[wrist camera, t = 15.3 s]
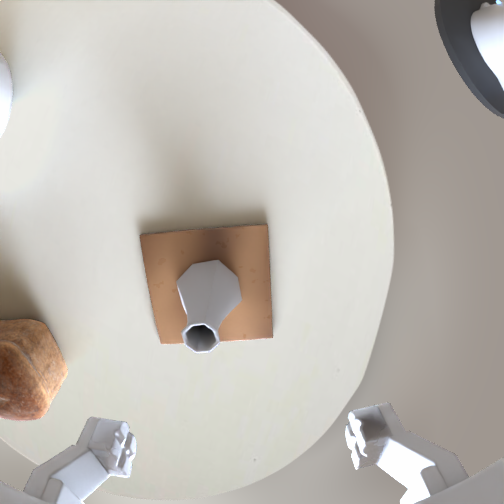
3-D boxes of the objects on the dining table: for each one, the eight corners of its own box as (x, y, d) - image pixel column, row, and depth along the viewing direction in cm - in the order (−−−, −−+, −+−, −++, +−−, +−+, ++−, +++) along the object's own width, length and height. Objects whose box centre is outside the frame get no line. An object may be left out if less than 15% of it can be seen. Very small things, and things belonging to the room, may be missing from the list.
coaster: (267, 223, 33) (267, 224, 32) (272, 335, 37) (272, 338, 36) (140, 233, 32) (139, 235, 32) (161, 341, 36) (160, 344, 36)
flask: (221, 247, 32) (216, 284, 23) (252, 302, 35) (259, 352, 25) (165, 277, 33) (141, 321, 24) (198, 327, 35) (188, 381, 26)
